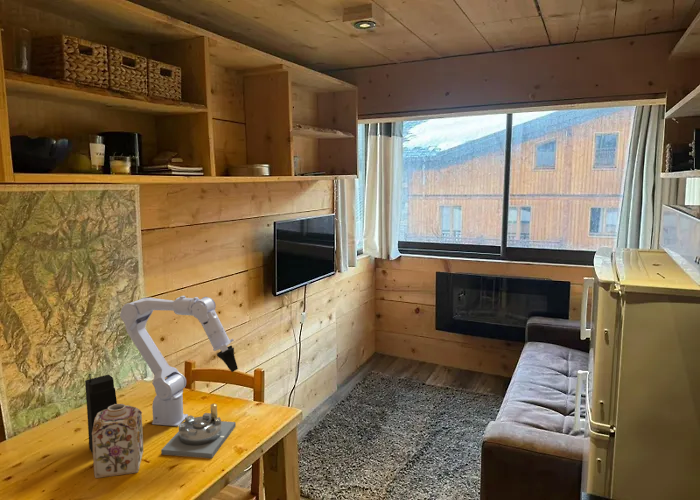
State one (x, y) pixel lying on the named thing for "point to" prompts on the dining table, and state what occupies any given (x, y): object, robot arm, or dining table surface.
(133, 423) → the decorative jar
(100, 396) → the portable radio
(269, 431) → the dining table surface
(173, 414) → the robot arm
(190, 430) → the notched steel disc
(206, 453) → the base plate
